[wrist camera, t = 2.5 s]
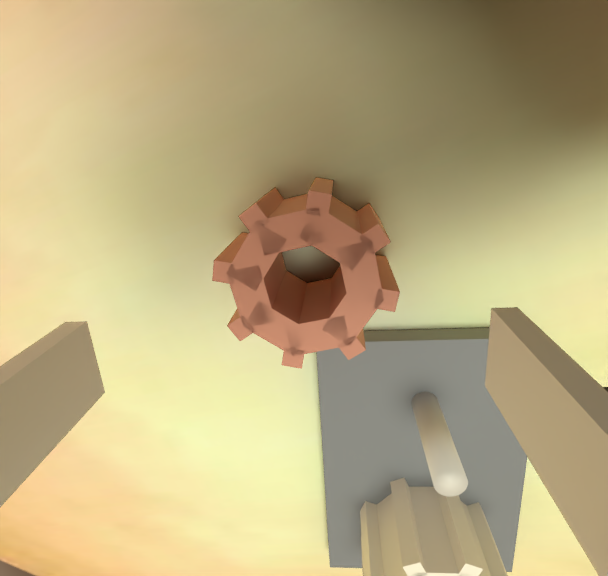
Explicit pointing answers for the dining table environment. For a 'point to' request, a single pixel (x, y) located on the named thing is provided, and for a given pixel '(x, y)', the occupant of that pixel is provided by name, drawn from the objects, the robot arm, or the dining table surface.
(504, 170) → the dining table surface
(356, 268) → the gear
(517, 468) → the gear board
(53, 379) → the robot arm
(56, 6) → the dining table surface
